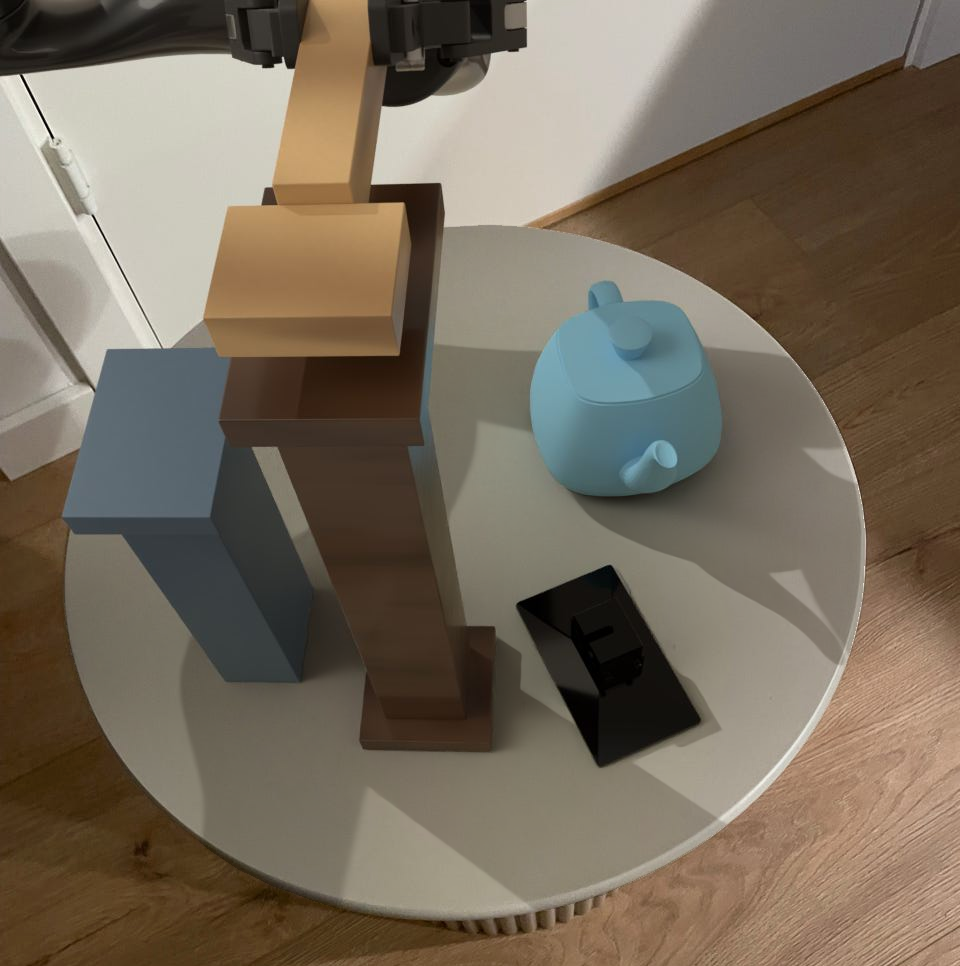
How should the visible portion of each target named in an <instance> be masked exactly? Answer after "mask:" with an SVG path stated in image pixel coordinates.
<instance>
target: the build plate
mask: <svg viewBox="0 0 960 966" xmlns="http://www.w3.org/2000/svg"><path fill="white" fill-rule="evenodd" d="M515 609H516V611H517V613H518V615H519V617H520V619H521V621H522V623H523V624H524V627H525V628H526V631H527V633H528V634H529V637H530V638H531V640H532V642H533V644H534V646H535V648H536V651H537V653H538V654H539V656H540V658H541V660H542V662H543V664H544V665H545V668H546V670H547V672H548V674H549V675H550V678H551V679H552V682H553V683H554V686H555V687H556V689H557V691H558V694H559V695H560V697H561V699H562V701H563V703H564V705H565V707H566V708H567V710H568V713H569V714H570V716H571V719H572V720H573V722H574V724H575V726H576V728H577V730H578V732H579V734H580V736H581V738H582V740H583V741H584V744H585V746H586V748H587V750H588V751H589V753H590V755H591V757H592V759H593V761H594V763H595V765H596V766H597V767H598V768H604V767H606V766H608V765H610V764H613V763H616V762H618V761H620V760H622V759H625V758H627V757H629V756H631V755H633V754H636V753H638V752H641V751H643V750H645V749H648V748H649V747H651V746H655V745H656V744H658V743H660V742H664V741H665V740H667V739H670V738H672V737H674V736H677V735H679V734H681V733H683V732H686V731H688V730H690V729H692V728H693V729H694V728H695V727H698V726H699V725H700V724H701V722H702V718H701V717H700V715H699V713H698V712H697V709H696V708H695V706H694V704H693V703H692V701H691V699H690V698H689V695H688V694H687V692H686V690H685V689H684V687H683V686H682V683H681V682H680V679H679V678H678V677H677V675H676V673H675V671H674V670H673V668H672V666H671V664H670V663H669V661H668V659H667V657H666V656H665V654H664V653H663V651H662V649H661V648H660V646H659V644H658V642H657V640H656V639H655V636H654V635H653V633H652V632H651V630H650V628H649V626H648V625H647V623H646V621H645V620H644V618H643V616H642V614H641V612H640V611H639V609H638V607H637V606H636V604H635V602H634V601H633V599H632V597H631V590H630V588H629V586H628V584H627V583H626V581H625V580H624V578H623V576H622V574H621V572H620V571H617V570H616V569H615V568H614V566H613V565H612V564H607V565H605V566H602V567H600V568H597V569H594V570H592V571H590V572H587V573H585V574H582V575H579V576H578V577H576V578H573V579H570V580H568V581H566V582H563V583H560V584H558V585H556V586H554V587H551V588H549V589H546V590H544V591H541V592H539V593H536V594H534V595H532V596H529V597H527V598H525V599H522V600H520V601H518V602H516V604H515Z"/></svg>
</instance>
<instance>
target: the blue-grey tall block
mask: <svg viewBox="0 0 960 966" xmlns="http://www.w3.org/2000/svg"><path fill="white" fill-rule="evenodd" d="M230 358H231V357H219V356H218V353H217V351H216V348H215V347H171V348H170V347H159V348H157V347H156V348H155V347H154V348H106V351H105V355H104V359H103V362H102V366H101V369H100V373H99V377H98V381H97V384H96V388H95V392H94V395H93V398H92V403H91V406H90V410H89V414H88V418H87V420H86V425H85V428H84V432H83V435H82V439H81V443H80V447H79V451H78V454H77V458H76V462H75V465H74V468H73V472H72V477H71V481H70V484H69V488H68V490H67V495H66V498H65V502H64V506H63V510H62V512H61V513H62V514H61V520H63V521H64V523H65V524H66V525H67V526H68V528H69V529H70V531H71V532H72V533H73V534H74V535H95V536H96V535H99V536H101V535H104V536H105V535H106V536H107V535H108V536H109V535H111V536H114V535H115V536H117V535H121V536H122V538H123V539H124V541H125V542H126V543H127V545H128V546H129V548H130V549H131V550H132V552H133V553H134V555H135V556H136V557H137V559H138V561H139V562H140V563H141V565H142V566H143V568H144V569H145V570H146V572H147V573H148V575H149V576H150V577H151V579H152V580H153V581H154V583H155V584H156V586H157V587H158V589H159V590H160V591H161V593H162V595H163V596H164V597H165V599H166V600H167V601H168V604H170V606H171V608H172V609H173V610H174V611H175V613H176V614H177V616H178V618H179V619H180V620H181V621H182V623H183V624H184V626H185V627H186V628H187V630H188V631H189V633H190V634H191V635H192V637H193V638H194V640H195V641H196V642H197V644H198V646H199V647H200V648H201V650H202V651H203V653H204V654H205V655H206V657H207V658H208V659H209V661H210V662H211V664H212V666H213V667H214V668H215V670H216V671H217V673H218V674H219V675H220V677H221V678H222V680H223V681H224V682H238V683H243V682H244V683H245V682H246V683H249V682H250V683H253V682H254V683H301V681H302V680H301V679H302V672H303V666H304V659H305V651H306V643H307V637H308V629H309V621H310V613H311V607H312V599H313V592H314V587H313V585H312V582H311V581H310V578H309V576H308V573H307V571H306V569H305V567H304V564H303V562H302V559H301V557H300V555H299V553H298V551H297V548H296V546H295V543H294V541H293V539H292V537H291V535H290V534H291V533H290V532H289V530H288V527H287V525H286V523H285V521H284V518H283V516H282V514H281V511H280V509H279V507H278V504H277V502H276V500H275V497H274V495H273V493H272V491H271V488H270V486H269V484H268V482H267V479H266V477H265V475H264V472H263V469H262V468H261V465H260V463H259V461H258V458H257V456H256V454H255V452H254V449H253V447H230V446H229V444H228V442H227V440H226V437H225V435H224V433H223V431H222V429H221V427H220V425H219V422H218V418H219V413H220V408H221V403H222V398H223V393H224V388H225V383H226V378H227V373H228V368H229V363H230Z"/></svg>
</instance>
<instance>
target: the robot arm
mask: <svg viewBox="0 0 960 966" xmlns="http://www.w3.org/2000/svg"><path fill="white" fill-rule="evenodd" d="M308 3H309V0H0V77H1V78H2V77H11V76H21V75H29V74H38V73H47V72H54V71H63V70H74V69H81V68H82V69H83V68H89V67H90V68H91V67H98V66H106V65H112V64H119V63H125V62H133V61H139V60H140V61H141V60H146V59H153V58H154V59H155V58H163V57H164V58H165V57H173V56H174V57H175V56H191V55H192V56H193V55H195V56H196V55H231V58H232V59H234V60H237V61H240V62H244V63H247V64H250V65H253V66H261V68H262V69H275V67H276V66H275V65H279V64H280V65H281V64H283V62H284V64H285V67H286V69H287V70H295V66H296V61H297V56H298V51H299V46H300V43H301V38H302V33H303V28H304V23H305V18H306V13H307V8H308ZM527 15H528V2H527V0H368V20H369V33H370V41H371V44H372V56H373V62H374V65H375V66H387V71H386V79H385V86H384V93H383V101H382V107H385V108H402V107H408V106H411V105H415V104H417V103H420V102H422V101H424V100H426V99H428V98H429V97H432V96H435V97H447V96H454V95H459V94H461V93H465V92H468V91H470V90H472V89H474V88H475V87H477V86H479V85H480V84H481V83H482V82H483V80H484V79H485V78H486V76H487V74H488V71H489V69H490V65H491V58H492V54H495V53H501V52H507V53H519V52H520V49H526V48H528V16H527Z"/></svg>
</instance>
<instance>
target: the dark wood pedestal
mask: <svg viewBox="0 0 960 966" xmlns="http://www.w3.org/2000/svg"><path fill="white" fill-rule="evenodd" d="M369 203H405V208H406V214H407V220H408V227H409V233H410V239H411V253H410V262H409V271H408V281H407V290H406V299H405V309H404V318H403V327H402V336H401V346H400V354H399V356H313V357H231V358H230V363H229V368H228V373H227V378H226V383H225V388H224V393H223V398H222V403H221V408H220V413H219V418H218V422H219V425H220V427H221V429H222V431H223V433H224V435H225V437H226V440H227V442H228V444H229V446H230V447H252V448H277V450H278V453H279V455H280V458H281V460H282V463H283V465H284V468H285V470H286V473H287V475H288V478H289V480H290V483H291V485H292V488H293V491H294V493H295V495H296V498H297V500H298V503H299V504H300V508H301V510H302V513H303V516H304V518H305V520H306V523H307V525H308V529H309V530H310V533H311V535H312V538H313V540H314V543H315V545H316V548H317V550H318V553H319V555H320V558H321V561H322V563H323V565H324V569H325V570H326V573H327V576H328V578H329V580H330V582H331V585H332V586H331V587H332V588H333V590H334V593H335V595H336V598H337V600H338V604H339V606H340V608H341V610H342V613H343V616H344V618H345V620H346V622H347V625H348V628H349V631H350V633H351V636H352V638H353V640H354V643H355V645H356V648H357V650H358V653H359V655H360V658H361V661H362V663H363V666H364V668H365V679H364V686H363V687H364V688H363V697H362V706H361V717H360V724H359V725H360V726H359V735H358V736H359V737H358V742H359V744H360V747H361V748H362V750H364V751H366V750H367V751H409V752H411V751H415V752H416V751H417V752H458V753H459V752H462V753H463V752H464V753H465V752H467V753H468V752H469V753H492V746H493V726H494V725H493V724H494V703H495V702H494V701H495V681H496V680H495V679H496V678H495V677H496V659H497V658H496V657H497V630H496V626H495V625H467V619H466V615H465V608H464V603H463V598H462V592H461V586H460V580H459V575H458V570H457V564H456V557H455V552H454V547H453V541H452V535H451V530H450V524H449V518H448V512H447V507H446V501H445V495H444V491H443V485H442V479H441V473H440V469H439V461H438V456H437V451H436V444H435V439H434V434H433V428H432V422H431V417H430V410H429V400H430V390H431V379H432V367H433V357H434V356H433V355H434V344H435V333H436V332H435V331H436V321H437V311H438V297H439V288H440V287H439V286H440V274H441V263H442V253H443V240H444V232H445V231H444V230H445V218H446V210H445V201H444V194H443V185H442V183H441V182H419V183H418V182H416V183H380V184H379V183H376V184H375V183H373V184H371V188H370V195H369ZM263 205H278V204H277V200H276V197H275V193H274V190H273V187H272V186H267V187H264V188H263V194H262V198H261V204H260V206H263Z"/></svg>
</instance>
